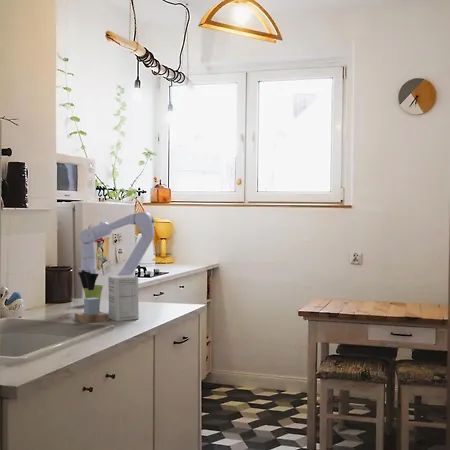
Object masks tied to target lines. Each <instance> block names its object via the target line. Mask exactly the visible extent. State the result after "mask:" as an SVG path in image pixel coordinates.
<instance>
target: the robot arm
mask: <svg viewBox="0 0 450 450" xmlns="http://www.w3.org/2000/svg"><path fill="white" fill-rule="evenodd" d="M128 225H136V226H137V228H138V229H139V231H140V235H141V237H140V238H139V240H138V242H137V243H136V245H135V247H134V248H133V250H132V252H131V253H130V255H129V257H128V259H127V261H126V262H125V264H124V265H123V267H122V268H121V270H120V271H119V272H118V274H117V275H116V276H123V275H131V276H134V273H135V271H136V269H137V267H138V265H139V263H140V262H141V261H142V259H143V257H144V256H145V254H146V252H147V250H148V248H149V247H150V246H151V243H152V242H153V240H154V238H155V220H154V217H153V215H152V214H151V212H148V211H139V212H135V213H132V214H129V215H126V216H124V217H122V218H119V219H117V220H115V221H112V222H106V221H100V222H99V223H98V224H97V225H94V226H89V229H88V228H83V230H82V231H80V233H79V240H80V241H81V242H80V243H81V246H80V260H81V261H80V262H81V263H80V267H78V270H79V272H77V275H78V276H79V278H80V282H81V286H82V289H84V288H88V290H94V286H95V285H96V281H97V278H98V277H99V273H97V270H96V255H95V254H96V246H95V244H96V243H95V241H96V240H99V239H102V238H105V237H107V236H110V235H111V234H112V232H113V231H115V230H117V229H121V228H122V227H125V226H128Z"/></svg>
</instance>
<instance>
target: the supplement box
mask: <svg viewBox="0 0 450 450" xmlns="http://www.w3.org/2000/svg"><path fill="white" fill-rule="evenodd" d="M107 281H108V283H107V284H108V285H107V287H108V319H111V320H113V321H115V322H122V321H133V320H139V315H140V314H139V313H140V312H139V277H138V276H136V275H133V276H131V275H123V276H117V275H110V276H108V278H107Z"/></svg>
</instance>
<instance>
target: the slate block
mask: <svg viewBox="0 0 450 450" xmlns="http://www.w3.org/2000/svg"><path fill="white" fill-rule="evenodd" d="M83 301H84V302H83V310H84V311H83V313H84V314H87V315H96V314H100V312H101V311H100V310H101V309H100V305H101V299H98V298H85V297H84V299H83Z"/></svg>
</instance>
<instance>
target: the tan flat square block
mask: <svg viewBox="0 0 450 450" xmlns="http://www.w3.org/2000/svg"><path fill="white" fill-rule="evenodd" d="M74 320H75V321H77V322H79V323H81V322H82V323H81V324H89V323H101V322H108V321H109V313H105V312H102V311H100V314H96V315H87V314H84V312H74Z"/></svg>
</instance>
